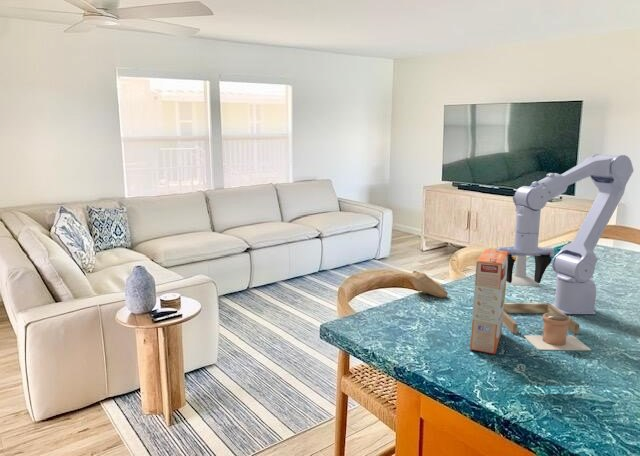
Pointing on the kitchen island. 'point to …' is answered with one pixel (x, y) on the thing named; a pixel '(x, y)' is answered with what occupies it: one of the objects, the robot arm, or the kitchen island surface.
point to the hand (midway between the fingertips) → (522, 281)
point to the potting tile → (539, 344)
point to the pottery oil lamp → (427, 284)
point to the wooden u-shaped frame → (532, 308)
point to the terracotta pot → (555, 328)
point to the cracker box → (489, 300)
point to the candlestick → (521, 274)
